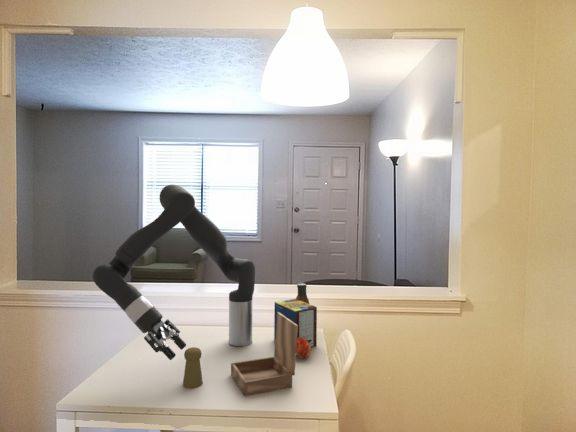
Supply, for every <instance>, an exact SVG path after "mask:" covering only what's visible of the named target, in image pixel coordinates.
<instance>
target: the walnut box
mask: <svg viewBox="0 0 576 432" xmlns="http://www.w3.org/2000/svg"><path fill="white" fill-rule="evenodd" d="M230 376H231V378H232V379H233V380H234V382H235V383H236V385H237V386H238V387H239V389H240V391H241V393H242V394H243V396H244V397H246V396H252V395H257V394H262V393H267V392H268V393H269V392H274V391H278V390H279V391H280V390H283V389H290V388H292V387H293V376H292V374H291V373H290V372H289V371H288V370H287V369H286V368H285V367H284V366H283V365H282V364H281V363H280V362H279V361H278V360H277V359H276V358H275V357H274V356H268V357H261V358H256V359H255V358H254V359H248V360H243V361H237V362H236V361H234V362H231V363H230Z"/></svg>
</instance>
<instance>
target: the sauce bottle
mask: <svg viewBox="0 0 576 432" xmlns="http://www.w3.org/2000/svg"><path fill="white" fill-rule="evenodd" d="M296 288H297V296H296V297H295V299H297V300H299V301H302V302H305V303H307V304H310V302H309V301H310V300H309V298H308V295H307V284H306V283H297V284H296Z"/></svg>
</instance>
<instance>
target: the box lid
mask: <svg viewBox="0 0 576 432" xmlns="http://www.w3.org/2000/svg"><path fill="white" fill-rule="evenodd" d="M297 332H298V325H297V324H295V323H294V322H292V321H291V320H290V319H288V318H287V317H285V316H284V315H282V314H281V313H280V312H277V322H276V337H275V339H274V351H273V352H274V354H273V357H275V358H276V359H277V360H278V361H279V362H280V363H281V364H282V365H283V366H284V367H285V368H286V369H287V370H288V371H289V372H290V373H291V374H292V377H295V375H296V374H295V373H296V357H297V353H296V346H297Z"/></svg>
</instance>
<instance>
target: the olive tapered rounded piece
mask: <svg viewBox="0 0 576 432" xmlns="http://www.w3.org/2000/svg"><path fill="white" fill-rule="evenodd" d="M183 355H184V359H185V365H184V372H183V373H184V375H183V381H182V386H183V387H184V388H186V389H196V388H199V387H201V386H203V383H204V382H203V375H202V367H201V358H202V349H200V348H199V347H197V346H196V347H195V346H194V347H193V346H192V347H188V348H187V349H186V350H185V351H184V353H183Z"/></svg>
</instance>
